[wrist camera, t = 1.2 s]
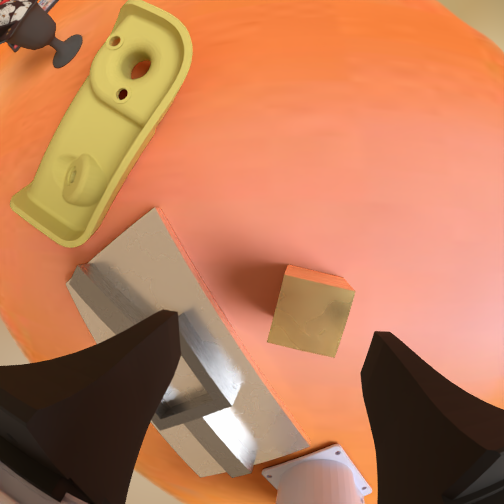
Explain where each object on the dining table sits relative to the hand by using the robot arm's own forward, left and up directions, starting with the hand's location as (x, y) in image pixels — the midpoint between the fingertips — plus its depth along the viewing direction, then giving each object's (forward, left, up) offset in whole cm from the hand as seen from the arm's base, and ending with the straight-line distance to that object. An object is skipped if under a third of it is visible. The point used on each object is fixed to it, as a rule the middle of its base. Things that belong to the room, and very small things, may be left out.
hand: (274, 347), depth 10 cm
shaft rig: (-1, +11, -11) cm, 15 cm away
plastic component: (+19, +6, -11) cm, 23 cm away
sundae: (+36, +7, -11) cm, 38 cm away
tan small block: (-1, -1, -11) cm, 11 cm away
